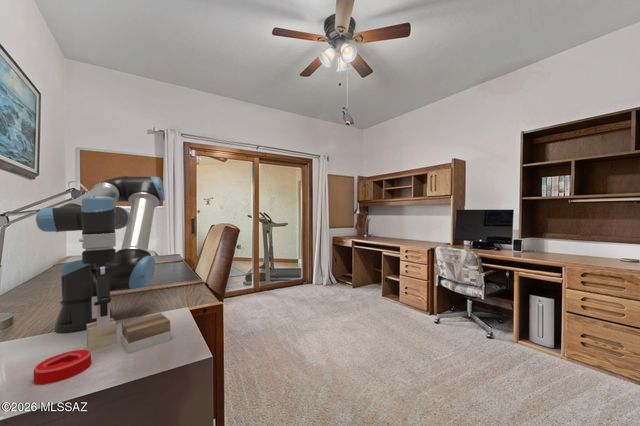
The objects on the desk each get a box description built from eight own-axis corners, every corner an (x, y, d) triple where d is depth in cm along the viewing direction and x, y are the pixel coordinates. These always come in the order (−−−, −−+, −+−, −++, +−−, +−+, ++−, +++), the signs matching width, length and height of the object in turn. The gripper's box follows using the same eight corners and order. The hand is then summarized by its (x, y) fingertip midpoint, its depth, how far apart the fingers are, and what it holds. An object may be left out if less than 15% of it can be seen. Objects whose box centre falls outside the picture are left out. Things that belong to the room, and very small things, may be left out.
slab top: (122, 333, 76) (121, 323, 76) (161, 322, 83) (160, 313, 83) (128, 343, 69) (128, 332, 69) (170, 330, 76) (170, 320, 76)
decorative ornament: (87, 357, 68) (87, 345, 68) (94, 369, 62) (94, 356, 62) (32, 375, 61) (32, 361, 61) (34, 391, 54) (34, 376, 54)
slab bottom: (121, 344, 75) (121, 334, 75) (160, 332, 82) (160, 323, 83) (128, 355, 68) (128, 344, 68) (170, 341, 75) (170, 331, 76)
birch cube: (87, 344, 75) (86, 324, 75) (113, 337, 79) (112, 317, 80) (89, 351, 71) (88, 329, 71) (116, 343, 75) (116, 322, 75)
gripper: (79, 249, 82) (80, 317, 81) (85, 251, 65) (86, 338, 64) (109, 246, 87) (110, 310, 86) (122, 248, 70) (124, 328, 69)
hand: (100, 322), depth 75 cm, fingers open, 13 cm apart
